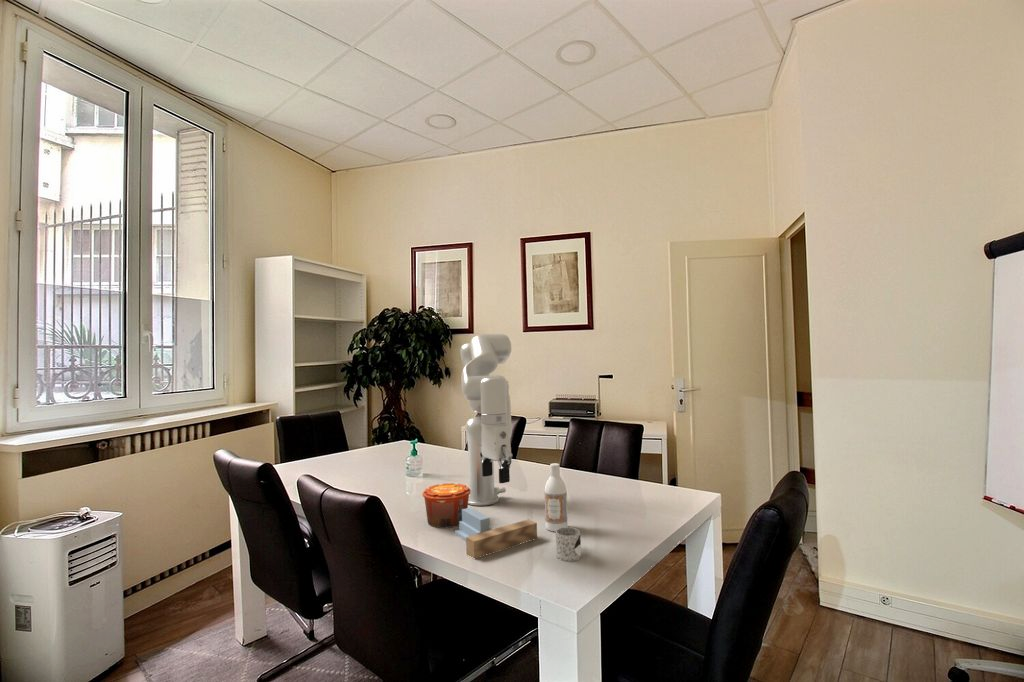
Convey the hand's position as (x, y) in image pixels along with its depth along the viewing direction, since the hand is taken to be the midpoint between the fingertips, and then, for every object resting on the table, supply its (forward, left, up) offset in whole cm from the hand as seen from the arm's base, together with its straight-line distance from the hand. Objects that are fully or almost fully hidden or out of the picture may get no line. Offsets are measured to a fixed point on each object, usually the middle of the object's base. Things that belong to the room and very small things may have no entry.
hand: (495, 479), depth 138 cm
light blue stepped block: (+2, -10, -19) cm, 22 cm away
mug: (-13, +16, -19) cm, 28 cm away
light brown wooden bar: (-1, +1, -19) cm, 19 cm away
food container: (+3, -28, -19) cm, 34 cm away
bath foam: (-22, -1, -19) cm, 29 cm away
